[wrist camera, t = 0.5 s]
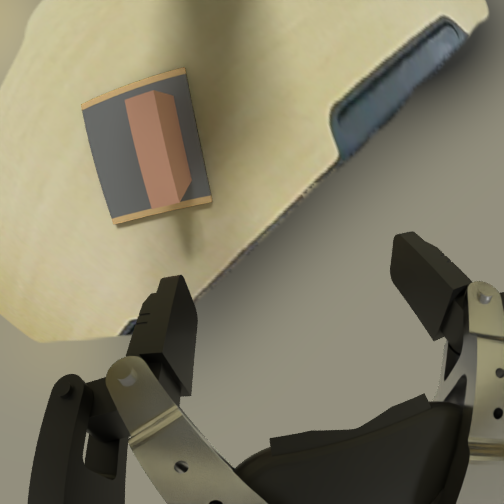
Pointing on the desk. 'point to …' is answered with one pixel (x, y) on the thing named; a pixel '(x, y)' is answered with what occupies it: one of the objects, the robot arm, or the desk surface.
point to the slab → (159, 147)
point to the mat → (124, 153)
